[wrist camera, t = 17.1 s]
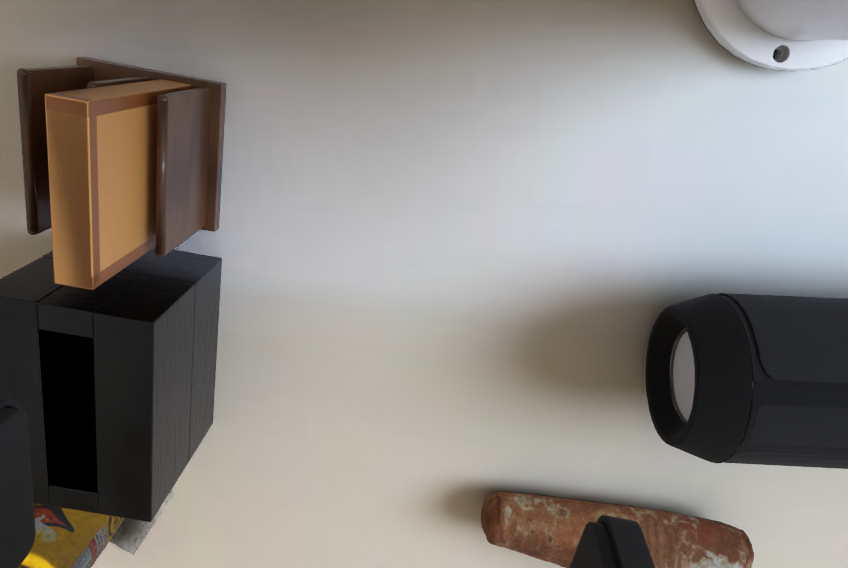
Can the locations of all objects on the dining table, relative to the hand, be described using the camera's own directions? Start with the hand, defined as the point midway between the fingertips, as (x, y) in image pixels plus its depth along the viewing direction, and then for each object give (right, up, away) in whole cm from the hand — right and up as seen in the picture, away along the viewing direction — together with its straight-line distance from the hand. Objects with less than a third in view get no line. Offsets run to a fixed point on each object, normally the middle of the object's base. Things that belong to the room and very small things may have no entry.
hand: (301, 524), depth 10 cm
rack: (-14, +12, +27) cm, 33 cm away
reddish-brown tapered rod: (+16, -14, +37) cm, 43 cm away
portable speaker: (+29, 0, +31) cm, 43 cm away
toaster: (-17, +1, +32) cm, 36 cm away
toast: (-13, +12, +27) cm, 32 cm away
